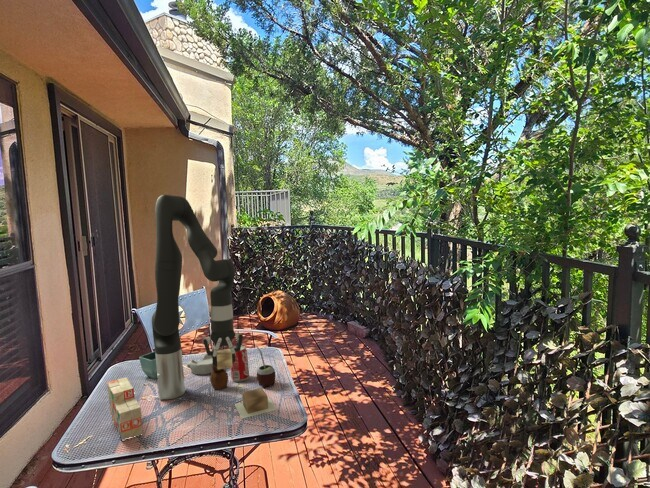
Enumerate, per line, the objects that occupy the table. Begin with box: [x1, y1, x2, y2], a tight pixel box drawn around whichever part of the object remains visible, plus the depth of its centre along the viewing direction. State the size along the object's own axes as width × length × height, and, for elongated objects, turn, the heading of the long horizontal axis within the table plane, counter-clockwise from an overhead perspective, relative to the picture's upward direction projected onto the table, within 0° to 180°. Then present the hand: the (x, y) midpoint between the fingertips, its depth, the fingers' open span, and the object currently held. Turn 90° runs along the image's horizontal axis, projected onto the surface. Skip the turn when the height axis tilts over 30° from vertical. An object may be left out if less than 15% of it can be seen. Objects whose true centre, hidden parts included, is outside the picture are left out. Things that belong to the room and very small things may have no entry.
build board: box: [234, 395, 278, 419], centre depth 140 cm, size 12×11×1 cm
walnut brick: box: [241, 387, 269, 414], centre depth 140 cm, size 7×7×4 cm
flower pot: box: [138, 350, 158, 379], centre depth 174 cm, size 9×9×9 cm
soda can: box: [230, 345, 250, 383], centre depth 165 cm, size 7×7×13 cm
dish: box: [186, 353, 213, 375], centre depth 178 cm, size 14×14×5 cm
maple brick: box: [216, 348, 233, 370], centre depth 143 cm, size 5×5×5 cm
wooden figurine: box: [209, 363, 229, 391], centre depth 157 cm, size 7×6×15 cm
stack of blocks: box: [106, 377, 143, 440], centre depth 134 cm, size 21×6×12 cm, turn 36°
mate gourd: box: [256, 345, 276, 390], centre depth 156 cm, size 8×8×15 cm
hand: (224, 364), depth 143 cm, fingers closed on maple brick, 5 cm apart
